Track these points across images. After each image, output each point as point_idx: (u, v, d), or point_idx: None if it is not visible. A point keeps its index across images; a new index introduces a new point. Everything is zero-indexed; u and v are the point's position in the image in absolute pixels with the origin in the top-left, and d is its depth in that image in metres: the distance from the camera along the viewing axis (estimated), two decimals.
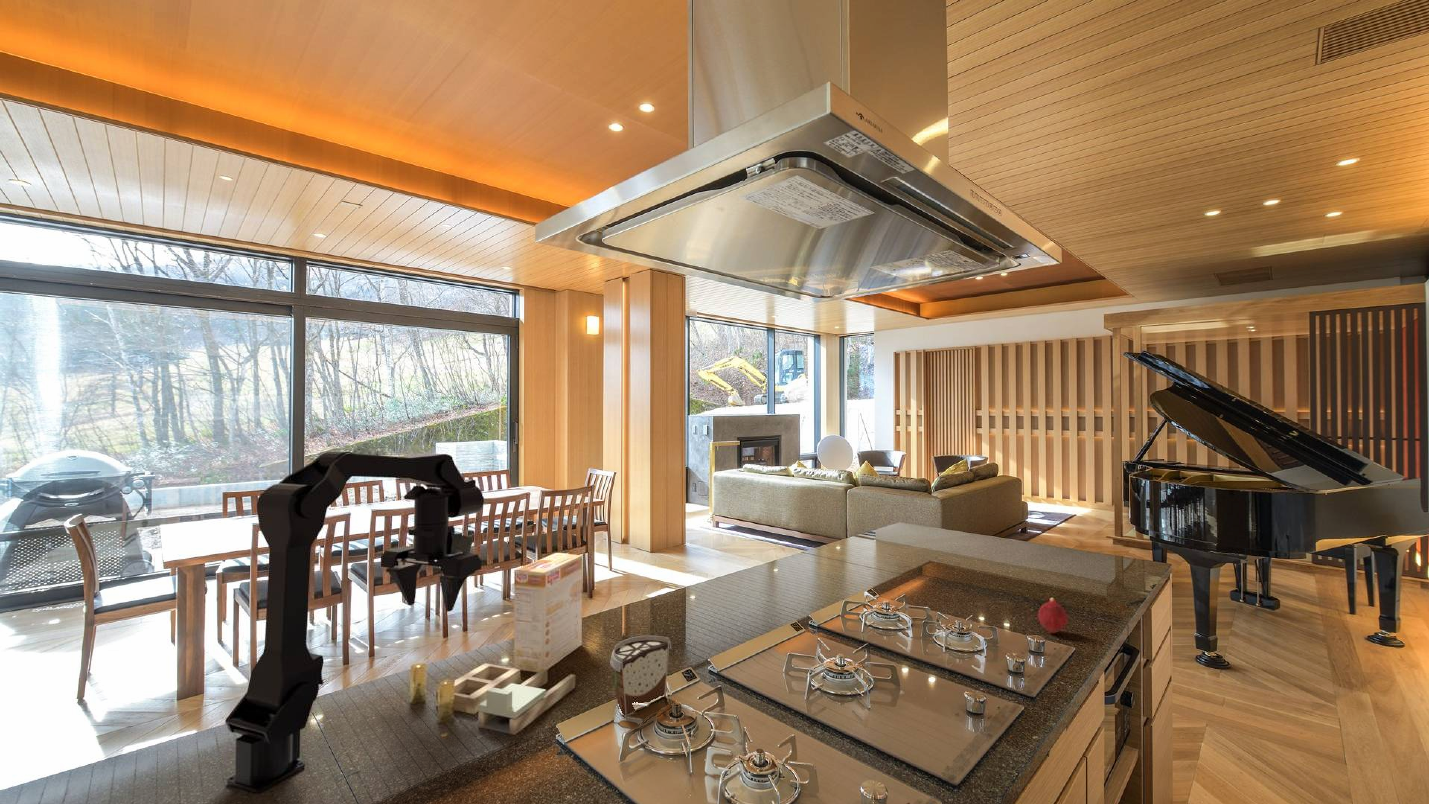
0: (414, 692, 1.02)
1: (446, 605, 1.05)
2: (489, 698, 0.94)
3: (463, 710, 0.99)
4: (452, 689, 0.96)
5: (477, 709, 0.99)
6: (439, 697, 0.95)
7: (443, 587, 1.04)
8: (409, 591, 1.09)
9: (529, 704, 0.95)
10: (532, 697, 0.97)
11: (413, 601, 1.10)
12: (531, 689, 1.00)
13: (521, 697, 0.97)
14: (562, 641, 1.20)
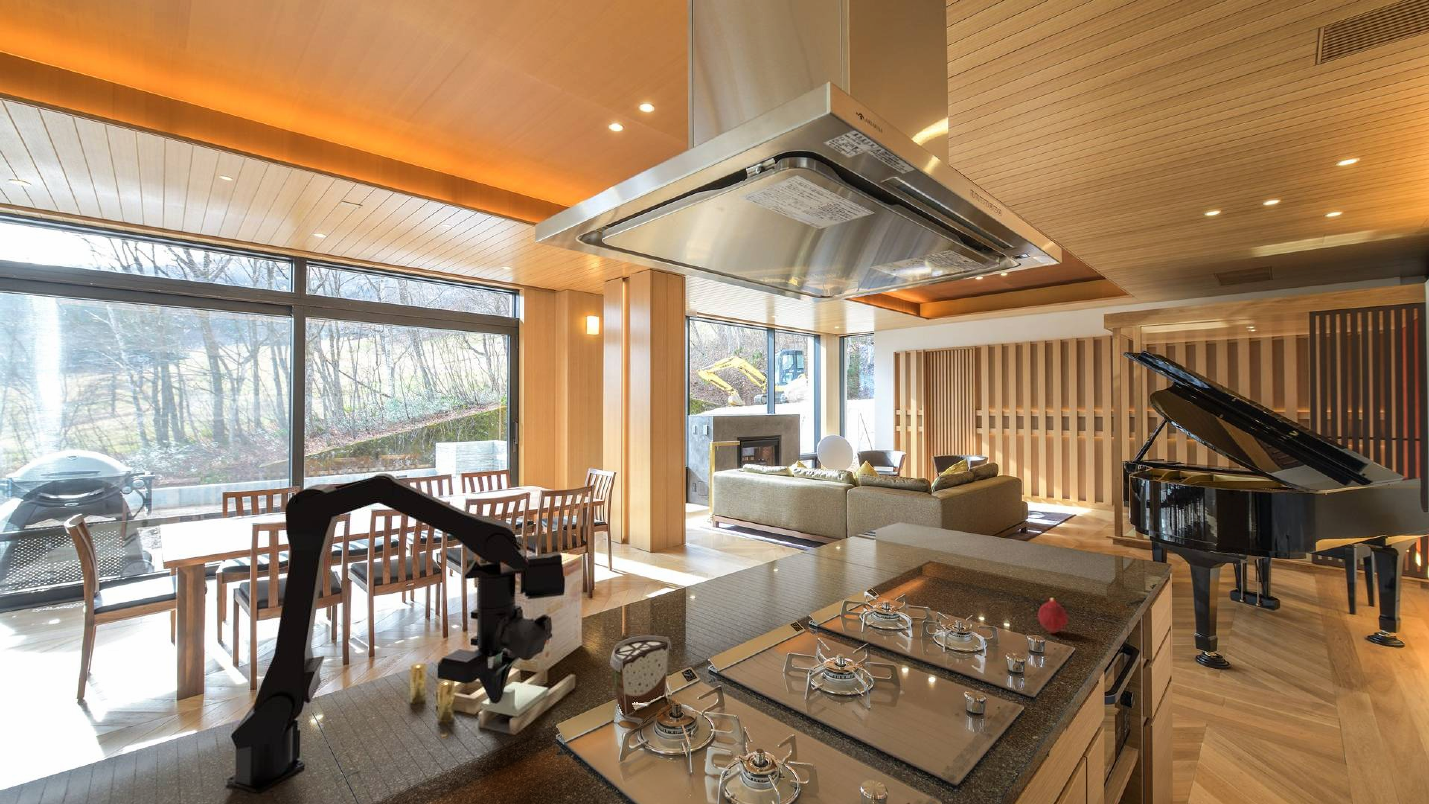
0: (414, 692, 1.02)
1: None
2: None
3: (463, 710, 0.99)
4: (452, 689, 0.96)
5: (477, 709, 0.99)
6: (439, 697, 0.95)
7: None
8: None
9: (531, 702, 0.96)
10: (534, 695, 0.98)
11: None
12: (533, 687, 1.00)
13: (523, 695, 0.97)
14: (562, 641, 1.20)
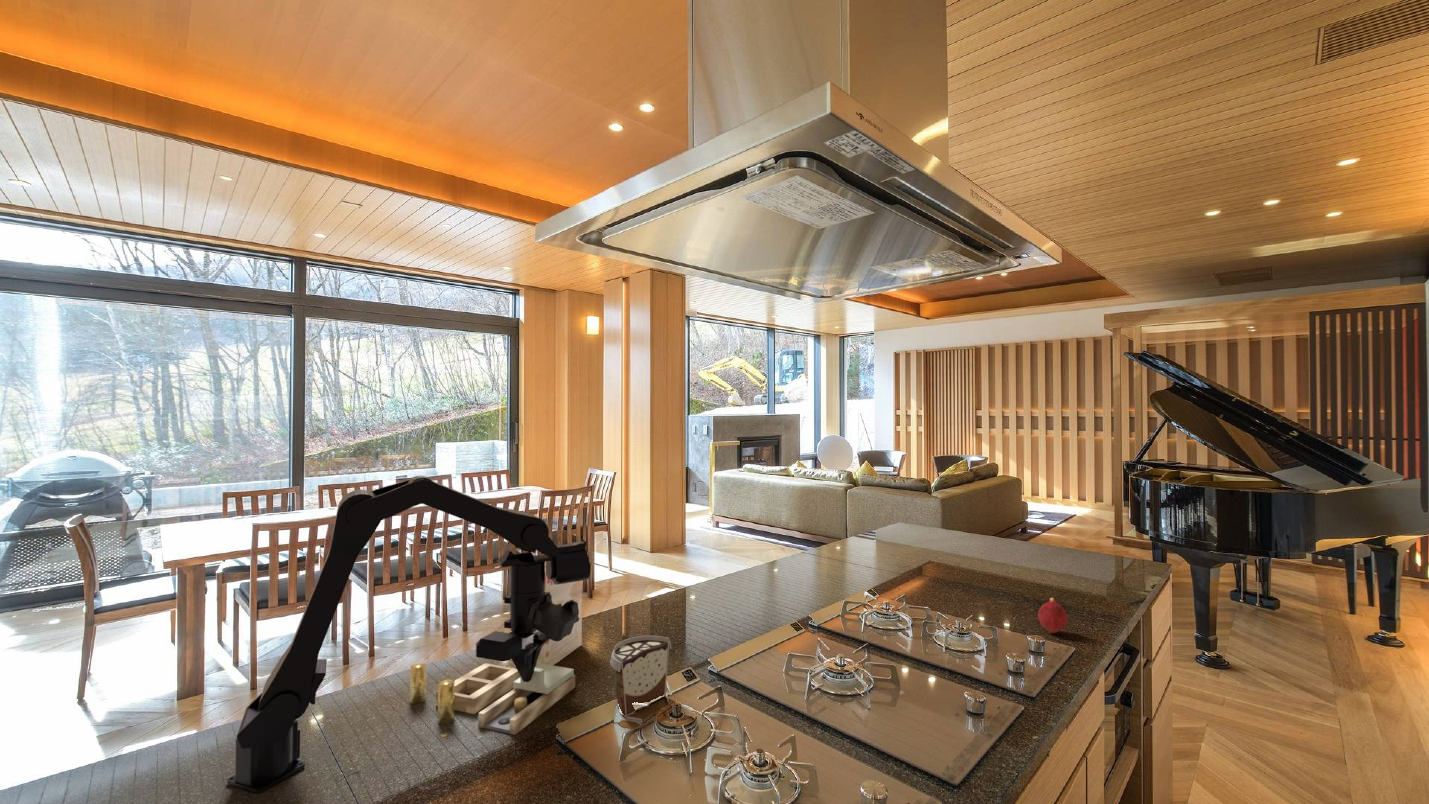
0: (414, 692, 1.02)
1: None
2: None
3: (463, 710, 0.99)
4: (452, 689, 0.96)
5: (477, 709, 0.99)
6: (439, 697, 0.95)
7: None
8: None
9: (559, 681, 1.03)
10: (562, 675, 1.05)
11: None
12: (560, 668, 1.08)
13: (551, 675, 1.05)
14: (562, 641, 1.20)
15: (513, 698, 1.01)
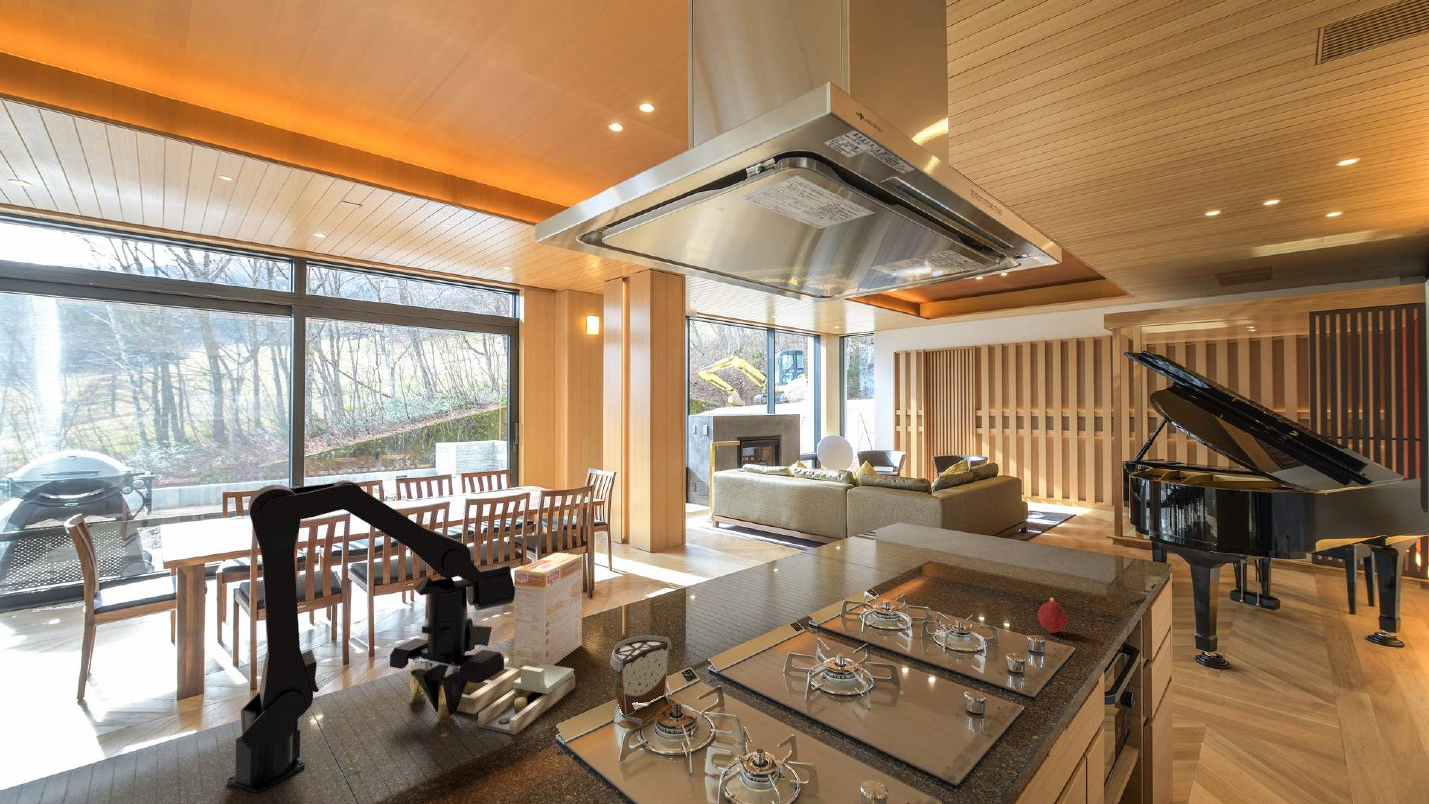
0: (414, 692, 1.02)
1: (449, 708, 0.95)
2: (523, 675, 1.02)
3: (463, 710, 0.99)
4: None
5: (477, 709, 0.99)
6: (439, 697, 0.95)
7: (446, 690, 0.94)
8: (437, 695, 0.97)
9: (559, 681, 1.03)
10: (562, 675, 1.05)
11: None
12: (560, 668, 1.08)
13: (552, 675, 1.05)
14: (562, 641, 1.20)
15: (513, 698, 1.01)
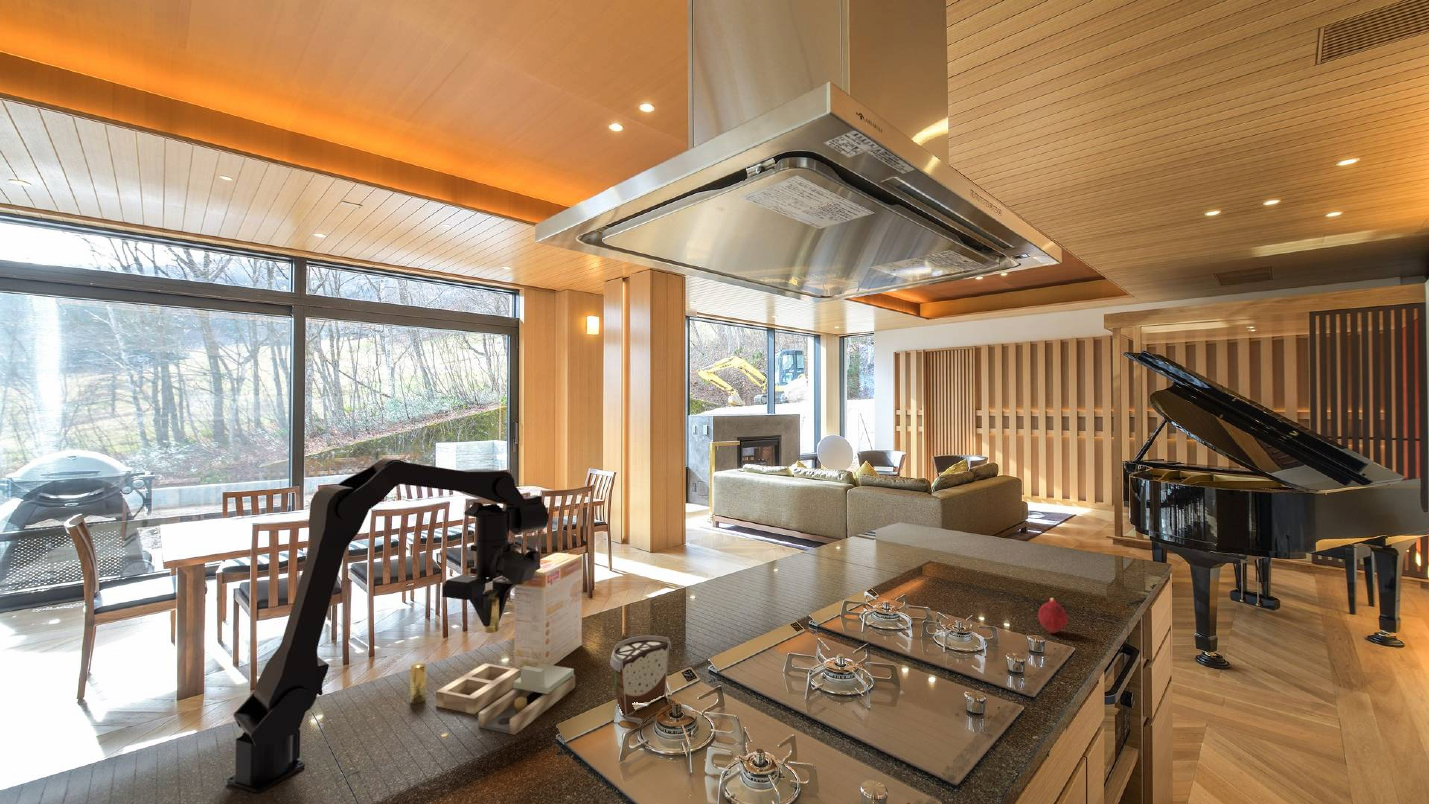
0: (414, 692, 1.02)
1: None
2: (523, 675, 1.02)
3: (463, 710, 0.99)
4: None
5: (477, 709, 0.99)
6: None
7: None
8: None
9: (559, 681, 1.03)
10: (562, 675, 1.05)
11: None
12: (560, 668, 1.08)
13: (552, 675, 1.05)
14: (562, 641, 1.20)
15: (513, 698, 1.01)
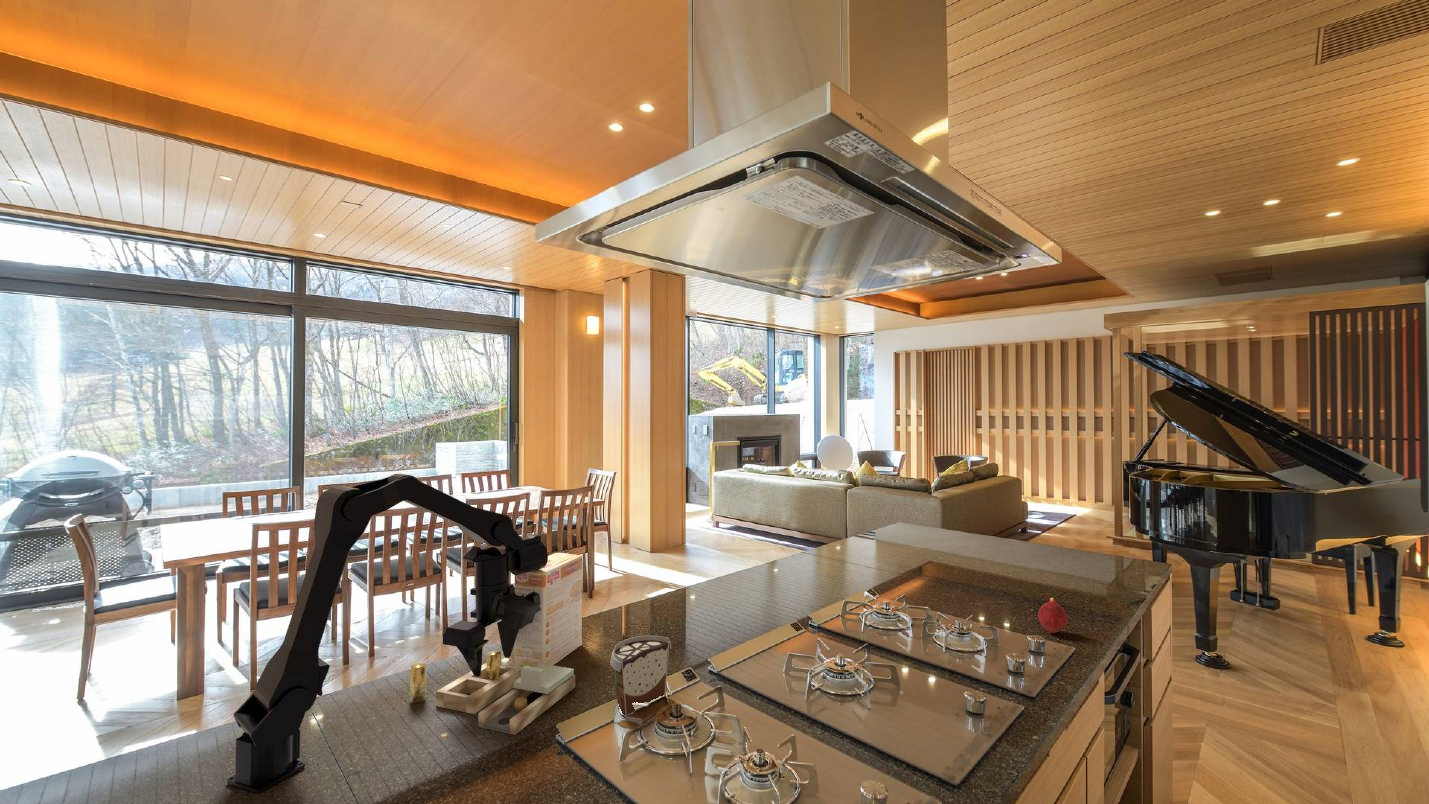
0: (414, 692, 1.02)
1: None
2: (523, 675, 1.02)
3: (463, 710, 0.99)
4: (489, 661, 1.07)
5: (477, 709, 0.99)
6: None
7: None
8: (506, 643, 1.12)
9: (559, 681, 1.03)
10: (562, 675, 1.05)
11: (507, 655, 1.12)
12: (560, 668, 1.08)
13: (552, 675, 1.05)
14: (562, 641, 1.20)
15: (513, 698, 1.01)
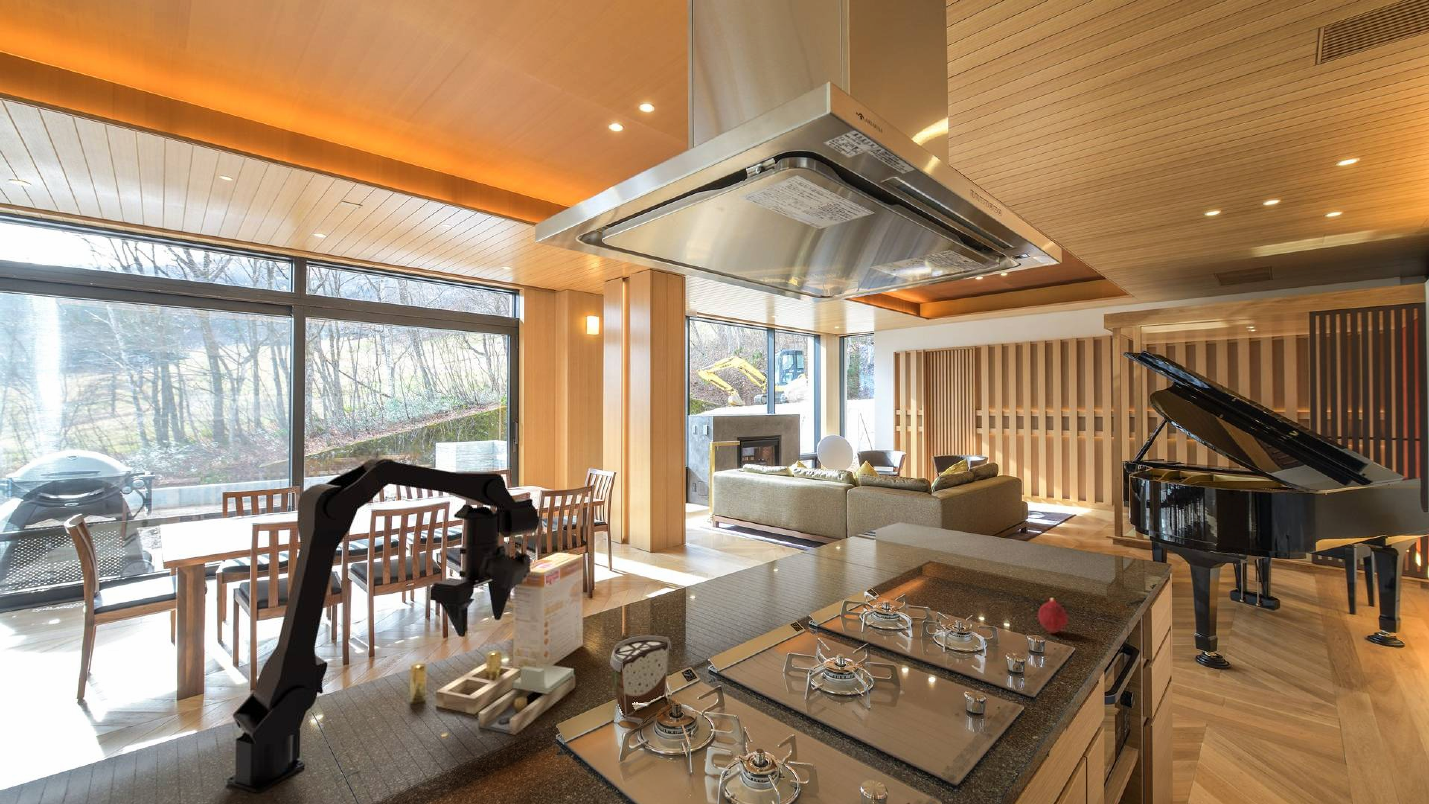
0: (414, 692, 1.02)
1: None
2: (523, 675, 1.02)
3: (463, 710, 0.99)
4: (489, 660, 1.07)
5: (477, 709, 0.99)
6: None
7: None
8: (497, 605, 1.12)
9: (559, 681, 1.03)
10: (562, 675, 1.05)
11: (498, 617, 1.11)
12: (560, 668, 1.08)
13: (552, 675, 1.05)
14: (561, 641, 1.20)
15: (513, 698, 1.01)
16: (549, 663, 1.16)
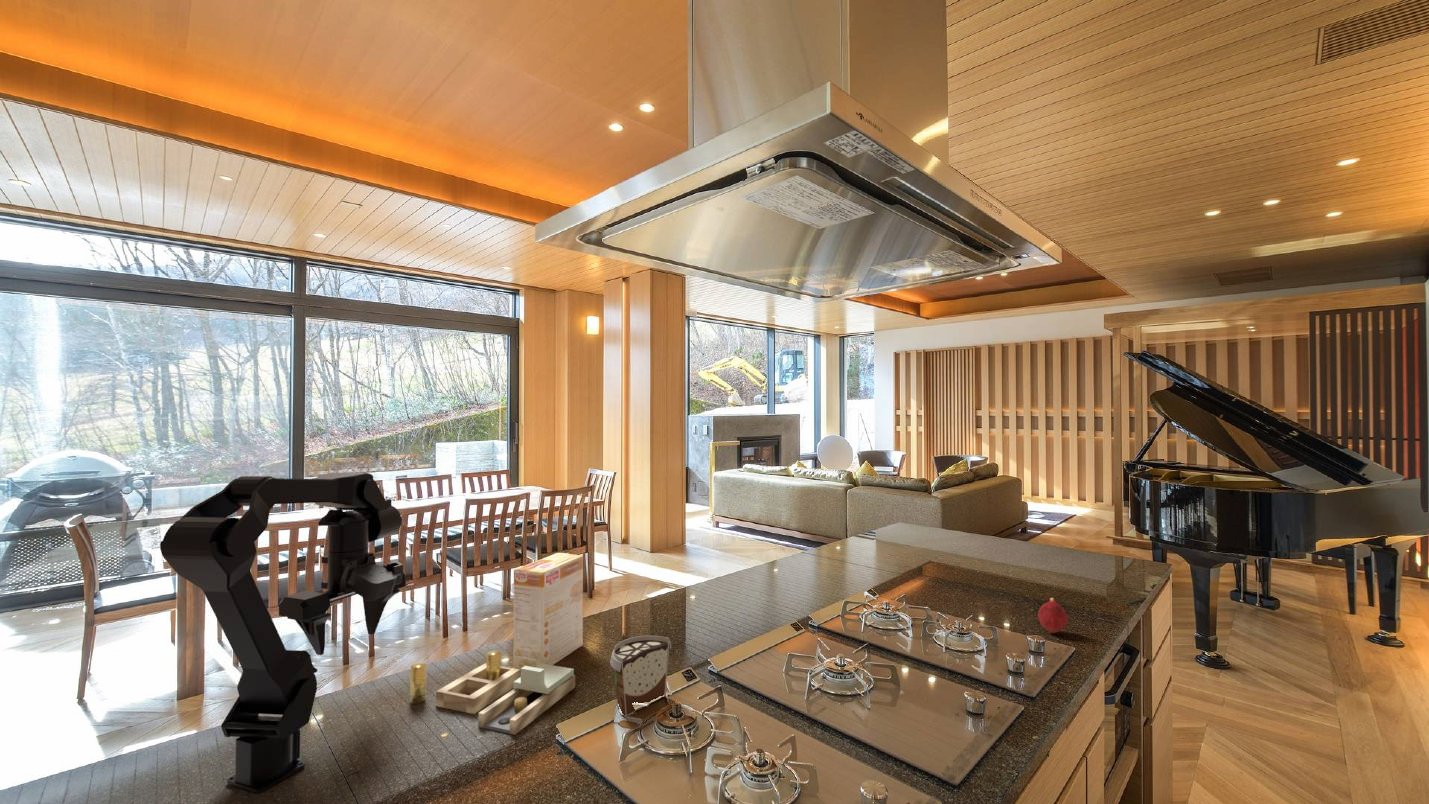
0: (414, 692, 1.02)
1: None
2: (523, 675, 1.02)
3: (463, 710, 0.99)
4: (489, 661, 1.07)
5: (477, 709, 0.99)
6: None
7: None
8: (370, 618, 1.02)
9: (559, 681, 1.03)
10: (562, 675, 1.05)
11: (371, 631, 1.01)
12: (560, 668, 1.08)
13: (552, 675, 1.05)
14: (561, 641, 1.20)
15: (513, 698, 1.01)
16: (549, 663, 1.16)
